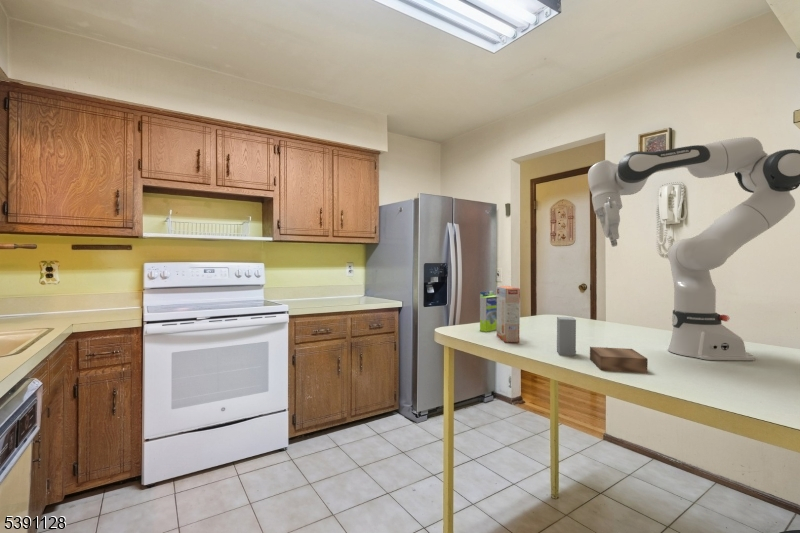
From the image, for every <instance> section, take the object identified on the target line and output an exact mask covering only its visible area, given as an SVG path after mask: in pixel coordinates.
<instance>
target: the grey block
mask: <svg viewBox="0 0 800 533" xmlns="http://www.w3.org/2000/svg"><path fill="white" fill-rule="evenodd" d="M576 339H577V319H575V317H569V316H567V317H565V316H557V317H556V353H557V354H558V356H564V355H566V356H567V355H568V356H567V357H576V353H577V351H576V350H577V349H576V346H577V345H576V344H577V340H576Z"/></svg>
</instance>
